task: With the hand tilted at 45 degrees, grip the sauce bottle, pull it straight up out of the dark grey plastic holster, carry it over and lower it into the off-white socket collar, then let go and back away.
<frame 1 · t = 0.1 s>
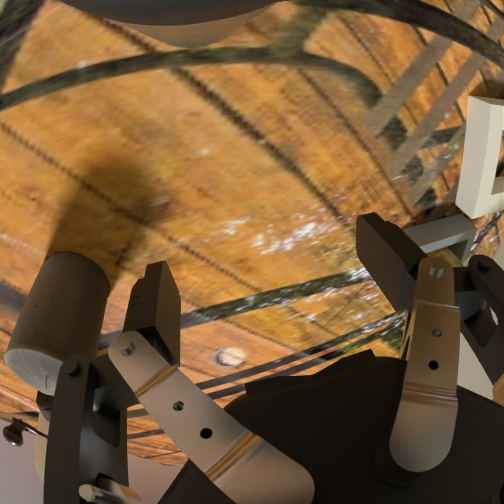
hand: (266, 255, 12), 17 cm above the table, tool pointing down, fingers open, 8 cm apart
sauce bottle: (425, 252, 40), resting in holster
gable box: (69, 422, 59), on the table
holster: (426, 253, 40), on the table
pillar candle: (74, 281, 32), on the table
socket collar: (495, 150, 30), on the table
manual coffee grinder: (61, 371, 44), on the table
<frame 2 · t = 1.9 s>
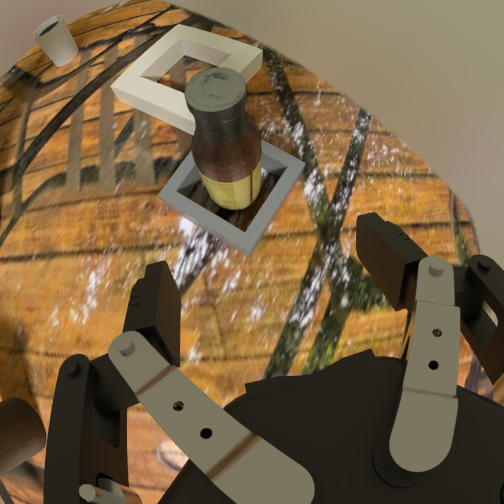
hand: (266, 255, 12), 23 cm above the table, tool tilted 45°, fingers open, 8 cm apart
sauce bottle: (233, 191, 36), resting in holster
white coffee cup: (67, 57, 41), on the table
holster: (233, 190, 36), on the table
pillar candle: (25, 425, 30), on the table
socket collar: (189, 80, 39), on the table
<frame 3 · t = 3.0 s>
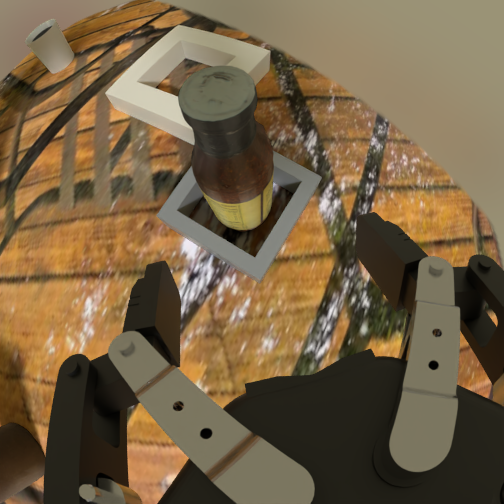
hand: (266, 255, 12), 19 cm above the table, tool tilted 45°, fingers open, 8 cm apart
sauce bottle: (241, 208, 33), resting in holster
white coffee cup: (62, 63, 39), on the table
holster: (241, 208, 33), on the table
pillar candle: (25, 450, 27), on the table
socket collar: (190, 85, 36), on the table
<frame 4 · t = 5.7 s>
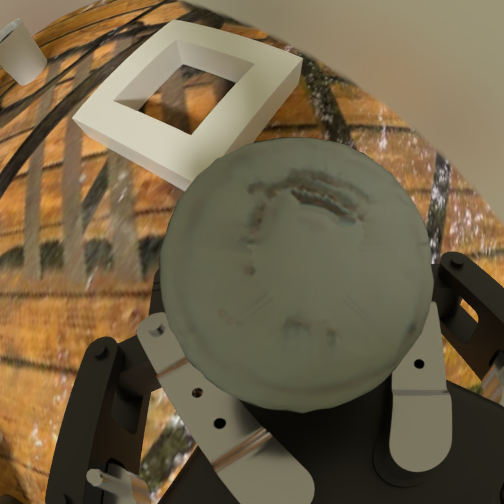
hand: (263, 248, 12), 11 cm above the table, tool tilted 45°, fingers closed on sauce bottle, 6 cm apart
sauce bottle: (266, 297, 23), resting in holster, touching gripper
white coffee cup: (33, 72, 30), on the table
socket collar: (189, 104, 27), on the table
when the fingers open (13 cm above the table, at t = 13.1 s): sauce bottle drops 1 cm, resting in socket collar.
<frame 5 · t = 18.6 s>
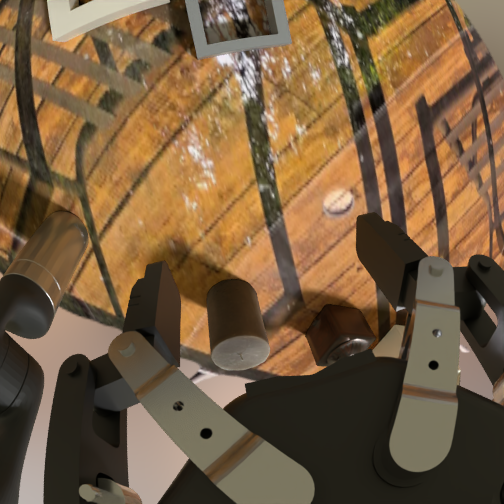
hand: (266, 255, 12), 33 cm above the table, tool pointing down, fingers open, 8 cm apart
gable box: (402, 342, 79), on the table
holster: (233, 14, 30), on the table
pillar candle: (231, 297, 57), on the table
manual coffee grinder: (326, 329, 68), on the table
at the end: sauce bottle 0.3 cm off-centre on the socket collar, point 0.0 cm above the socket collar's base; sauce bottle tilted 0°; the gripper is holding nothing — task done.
